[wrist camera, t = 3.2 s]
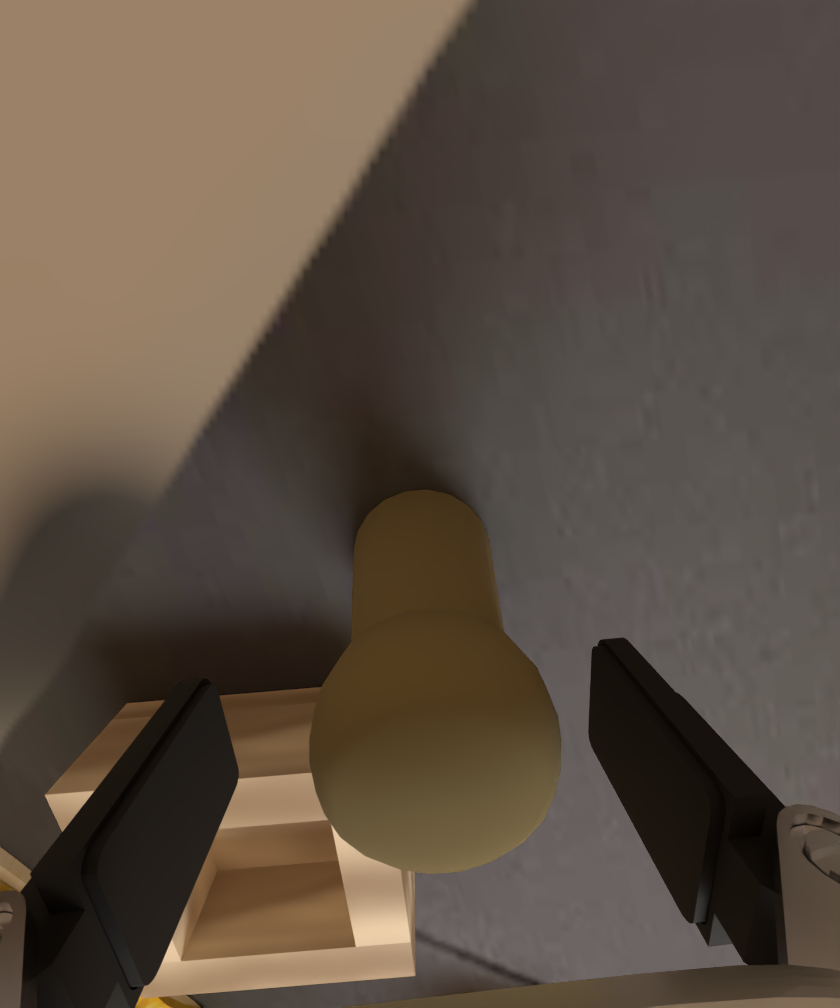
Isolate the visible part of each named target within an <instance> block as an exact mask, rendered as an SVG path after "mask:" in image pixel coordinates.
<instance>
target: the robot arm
mask: <svg viewBox="0 0 840 1008" xmlns="http://www.w3.org/2000/svg"><path fill="white" fill-rule="evenodd" d="M588 732H589V739H590V743H591V746H592V748H593V751H594V752H595V754H596V756H597V758H598V760H599V762H600V764H601V765H602V767H603V769H604V771H605V773H606V775H607V777H608V778H609V780H610V782H611V784H612V786H613V788H614V789H615V791H616V793H617V795H618V797H619V799H620V801H621V802H622V804H623V806H624V808H625V810H626V812H627V814H628V815H629V817H630V819H631V821H632V823H633V825H634V827H635V828H636V830H637V832H638V834H639V836H640V838H641V840H642V841H643V843H644V845H645V847H646V849H647V851H648V853H649V854H650V856H651V858H652V860H653V862H654V864H655V866H656V867H657V869H658V871H659V873H660V875H661V877H662V878H663V880H664V882H665V884H666V886H667V888H668V890H669V891H670V893H671V895H672V897H673V899H674V901H675V903H676V904H677V906H678V908H679V910H680V912H681V913H682V915H683V916H684V918H685V919H686V920H687V921H688V922H689V923H696V925H697V927H698V929H699V930H700V932H701V934H702V936H703V938H704V939H705V941H706V943H707V945H708V947H709V946H718V945H727V944H733V945H734V947H735V948H736V950H737V952H738V953H739V955H740V957H741V958H742V960H743V962H745V963H746V964H748V965H737V966H725V967H713V968H701V969H690V970H678V971H666V972H654V973H642V974H633V975H624V976H615V977H606V978H597V979H587V980H578V981H569V982H560V983H551V984H542V985H533V986H524V987H514V988H505V989H496V990H487V991H479V992H470V993H461V994H453V995H444V996H435V997H427V998H418V999H409V1000H401V1001H392V1002H384V1003H375V1004H367V1005H358V1006H350V1007H341V1008H840V816H838V815H836V814H834V813H832V812H830V811H827V810H824V809H821V808H817V807H814V806H808V805H799V804H796V805H792V806H787V807H785V806H784V805H783V804H782V803H781V802H780V801H779V799H778V798H777V797H776V796H775V795H774V794H773V793H772V792H771V791H770V790H769V789H768V788H767V787H766V786H765V784H764V783H763V782H762V781H761V780H760V779H759V778H758V777H757V776H756V775H755V774H754V773H753V772H752V770H751V769H750V768H749V767H748V766H747V765H746V764H745V763H744V762H743V761H742V760H741V759H740V758H739V757H738V755H737V754H736V753H735V752H734V751H733V750H732V749H731V748H730V747H729V746H728V745H727V744H726V743H725V742H724V740H723V739H722V738H721V737H720V736H719V735H718V734H717V733H716V732H715V731H714V730H713V729H712V728H711V727H710V725H709V724H708V723H707V722H706V721H705V720H704V719H703V718H702V717H701V716H700V715H699V714H698V713H697V711H696V710H695V709H694V708H693V707H692V706H691V705H690V704H689V703H688V702H687V701H686V700H685V699H684V698H683V697H682V696H681V695H680V694H678V693H676V692H675V691H674V690H673V689H672V688H671V687H670V686H669V685H668V683H667V682H666V681H665V680H664V679H663V678H662V677H661V676H660V675H659V674H658V673H657V672H656V670H655V669H654V668H653V667H652V666H651V665H650V664H649V663H648V662H647V661H646V660H645V659H644V657H643V656H642V655H641V654H640V653H639V652H638V651H637V650H636V649H635V648H634V647H633V646H632V644H631V643H630V642H629V641H628V640H627V639H625V638H613V639H603V640H600V641H599V643H598V646H595V647H593V649H592V660H591V683H590V706H589V730H588ZM238 778H239V769H238V764H237V761H236V757H235V753H234V749H233V745H232V742H231V738H230V734H229V730H228V727H227V723H226V719H225V715H224V711H223V708H222V704H221V700H220V696H219V693H218V689H217V686H216V685H214V684H211V683H210V681H209V680H208V679H197V680H187V681H182V682H179V683H178V684H177V685H176V687H175V688H174V689H173V691H172V692H171V693H170V694H169V696H168V697H167V698H166V700H165V701H164V702H163V703H162V705H161V706H160V707H159V709H158V710H157V711H156V712H155V714H154V715H153V716H152V718H151V719H150V720H149V721H148V723H147V724H146V725H145V727H144V728H143V729H142V730H141V732H140V733H139V734H138V736H137V737H136V738H135V739H134V741H133V742H132V743H131V745H130V746H129V747H128V748H127V750H126V751H125V752H124V754H123V755H122V756H121V757H120V759H119V760H118V761H117V763H116V764H115V765H114V766H113V768H112V769H111V770H110V772H109V773H108V774H107V775H106V777H105V778H104V779H103V781H102V782H101V783H100V784H99V786H98V787H97V788H96V790H95V791H94V792H93V793H92V795H91V796H90V797H89V799H88V800H87V801H86V802H85V804H84V805H83V806H82V807H81V809H80V810H79V811H78V813H77V814H76V815H75V816H74V818H73V819H72V820H71V822H70V823H69V824H68V825H67V827H66V828H65V829H64V831H63V832H62V833H61V834H60V836H59V837H58V838H57V840H56V841H55V842H54V843H53V845H52V846H51V847H50V849H49V850H48V851H47V852H46V854H45V855H44V856H43V858H42V859H41V860H40V861H39V863H38V864H37V865H36V867H35V868H34V869H33V870H32V872H31V873H30V875H31V879H30V880H29V881H28V883H27V884H26V885H25V886H24V888H23V889H22V890H21V892H20V893H19V892H18V891H16V890H5V891H0V1008H135V1006H136V1004H137V1002H138V1000H139V997H140V995H141V993H142V990H143V988H144V986H147V985H149V984H150V983H151V982H152V981H153V979H154V978H155V976H156V975H157V972H158V970H159V968H160V966H161V964H162V961H163V959H164V957H165V954H166V952H167V949H168V947H169V945H170V942H171V940H172V938H173V935H174V933H175V931H176V928H177V926H178V923H179V921H180V919H181V916H182V914H183V912H184V909H185V907H186V905H187V902H188V900H189V897H190V895H191V893H192V890H193V888H194V886H195V883H196V881H197V879H198V876H199V874H200V872H201V869H202V867H203V864H204V862H205V860H206V857H207V855H208V853H209V850H210V848H211V846H212V843H213V841H214V838H215V836H216V834H217V831H218V829H219V827H220V824H221V822H222V820H223V817H224V815H225V812H226V810H227V808H228V805H229V803H230V801H231V798H232V796H233V794H234V791H235V789H236V786H237V783H238Z"/></svg>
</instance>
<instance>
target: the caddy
mask: <svg viewBox="0 0 840 1008" xmlns="http://www.w3.org/2000/svg"><path fill="white" fill-rule="evenodd" d="M321 688H322V687H315V688H303V689H291V690H280V691H268V692H256V693H244V694H232V695H220V700H221V704H222V708H223V711H224V715H225V719H226V723H227V727H228V730H229V734H230V738H231V742H232V745H233V749H234V753H235V757H236V761H237V764H238V769H239V778H238V783H237V786H236V789H235V791H234V794H233V796H232V798H231V801H230V803H229V805H228V808H227V810H226V812H225V815H224V817H223V820H222V822H221V824H220V827H219V829H218V831H217V834H216V836H215V838H214V841H213V843H212V846H211V848H210V850H209V853H208V855H207V857H206V860H205V862H204V864H203V867H202V869H201V872H200V874H199V876H198V879H197V881H196V883H195V886H194V888H193V890H192V893H191V895H190V897H189V900H188V902H187V905H186V907H185V909H184V912H183V914H182V916H181V919H180V921H179V923H178V926H177V928H176V931H175V933H174V935H173V938H172V940H171V942H170V945H169V947H168V949H167V952H166V954H165V957H164V959H163V961H162V964H161V966H160V968H159V970H158V972H157V975H156V976H155V978H154V979H153V981H152V982H151V983H150V984H149V985H147V986H144V988H143V990H142V993H141V997H142V998H154V997H166V996H178V995H190V994H202V993H214V992H226V991H238V990H250V989H262V988H274V987H286V986H298V985H310V984H322V983H334V982H346V981H359V980H371V979H383V978H395V977H407V976H415V877H414V872H412V871H405V870H400V869H397V868H394V867H392V866H389V865H386V864H384V863H381V862H379V861H376V860H374V859H371V858H368V857H366V856H364V855H363V854H361V853H360V852H359V851H357V850H356V849H355V848H353V847H352V846H351V845H349V844H348V843H347V842H345V841H344V840H343V839H341V838H340V836H339V835H338V834H337V832H336V831H335V829H334V828H333V826H332V825H331V823H330V822H329V820H328V819H327V817H326V816H325V814H324V812H323V810H322V807H321V804H320V802H319V799H318V797H317V794H316V791H315V787H314V782H313V777H312V773H311V768H310V763H309V737H310V732H311V727H312V722H313V717H314V712H315V707H316V703H317V700H318V697H319V694H320V691H321ZM164 701H165V700H160V701H148V702H136V703H127V704H126V705H125V706H124V707H123V708H122V709H121V711H120V712H119V713H118V714H117V715H116V716H115V717H114V718H113V719H112V721H111V722H110V723H109V724H108V725H107V726H106V727H105V728H104V729H103V731H102V732H101V733H100V734H99V735H98V736H97V737H96V738H95V740H94V741H93V742H92V743H91V744H90V745H89V746H88V747H87V748H86V750H85V751H84V752H83V753H82V754H81V755H80V756H79V757H78V758H77V760H76V761H75V762H74V763H73V764H72V765H71V766H70V767H69V768H68V770H67V771H66V772H65V773H64V774H63V775H62V776H61V777H60V779H59V780H58V781H57V782H56V783H55V784H54V785H53V786H52V787H51V789H50V790H49V791H48V792H47V793H46V794H45V797H46V799H47V801H48V803H49V805H50V807H51V809H52V811H53V813H54V815H55V818H56V820H57V822H58V824H59V826H60V828H61V830H62V832H63V831H64V829H65V828H66V827H67V825H68V824H69V823H70V822H71V820H72V819H73V818H74V816H75V815H76V814H77V813H78V811H79V810H80V809H81V807H82V806H83V805H84V804H85V802H86V801H87V800H88V799H89V797H90V796H91V795H92V793H93V792H94V791H95V790H96V788H97V787H98V786H99V784H100V783H101V782H102V781H103V779H104V778H105V777H106V775H107V774H108V773H109V772H110V770H111V769H112V768H113V766H114V765H115V764H116V763H117V761H118V760H119V759H120V757H121V756H122V755H123V754H124V752H125V751H126V750H127V748H128V747H129V746H130V745H131V743H132V742H133V741H134V739H135V738H136V737H137V736H138V734H139V733H140V732H141V730H142V729H143V728H144V727H145V725H146V724H147V723H148V721H149V720H150V719H151V718H152V716H153V715H154V714H155V712H156V711H157V710H158V709H159V707H160V706H161V705H162V703H163V702H164Z"/></svg>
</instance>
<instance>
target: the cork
mask: <svg viewBox="0 0 840 1008" xmlns="http://www.w3.org/2000/svg"><path fill="white" fill-rule="evenodd" d="M309 763H310V768H311V773H312V777H313V782H314V787H315V791H316V794H317V797H318V799H319V802H320V804H321V807H322V810H323V812H324V814H325V816H326V817H327V819H328V820H329V822H330V823H331V825H332V826H333V828H334V829H335V831H336V832H337V834H338V835H339V836H340V838H341V839H343V840H344V841H345V842H347V843H348V844H349V845H351V846H352V847H353V848H355V849H356V850H357V851H359V852H360V853H361V854H363V855H364V856H366V857H368V858H371V859H374V860H376V861H379V862H381V863H384V864H386V865H389V866H392V867H394V868H397V869H400V870H405V871H412V872H420V873H427V874H436V873H448V872H460V871H464V870H467V869H470V868H473V867H476V866H480V865H483V864H486V863H489V862H491V861H493V860H495V859H497V858H498V857H500V856H502V855H503V854H505V853H506V852H508V851H510V850H511V849H513V848H515V847H516V846H518V845H520V844H521V843H523V842H524V841H525V840H526V839H527V838H528V836H529V835H530V834H531V833H532V832H533V831H534V830H535V829H536V828H537V827H538V826H539V825H540V824H541V823H542V821H543V820H544V818H545V816H546V814H547V811H548V809H549V807H550V804H551V802H552V800H553V798H554V795H555V792H556V788H557V784H558V779H559V775H560V770H561V735H560V728H559V721H558V716H557V713H556V711H555V708H554V706H553V703H552V700H551V698H550V695H549V693H548V690H547V688H546V686H545V683H544V681H543V679H542V677H541V675H540V673H539V671H538V669H537V667H536V666H535V665H534V663H533V662H532V661H531V660H530V659H529V658H528V657H527V656H526V655H525V654H524V653H523V652H522V651H521V650H520V648H519V647H518V646H517V645H516V644H515V643H514V642H513V641H512V640H511V639H510V638H509V637H508V636H507V634H506V633H505V632H504V628H503V622H502V616H501V609H500V603H499V597H498V591H497V585H496V579H495V573H494V567H493V561H492V554H491V548H490V542H489V538H488V536H487V533H486V531H485V528H484V526H483V523H482V521H481V520H480V518H479V517H478V516H477V515H476V514H475V513H474V512H473V510H472V509H471V508H470V507H469V506H468V505H467V504H465V503H463V502H462V501H460V500H458V499H457V498H455V497H453V496H452V495H450V494H446V493H442V492H437V491H433V490H428V489H426V490H414V491H405V492H402V493H400V494H397V495H395V496H392V497H390V498H388V499H385V500H384V501H383V502H381V503H380V504H379V505H378V506H377V507H375V508H374V509H373V510H372V511H371V512H370V513H368V515H367V516H366V518H365V520H364V521H363V523H362V525H361V527H360V528H359V530H358V532H357V536H356V541H355V546H354V551H353V587H352V627H351V643H350V644H349V646H348V647H347V648H346V650H345V651H344V653H343V654H342V655H341V657H340V658H339V660H338V661H337V663H336V665H335V666H334V668H333V669H332V671H331V672H330V674H329V675H328V677H327V679H326V680H325V682H324V683H323V685H322V688H321V691H320V694H319V697H318V700H317V703H316V707H315V712H314V717H313V722H312V727H311V732H310V737H309Z"/></svg>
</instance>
